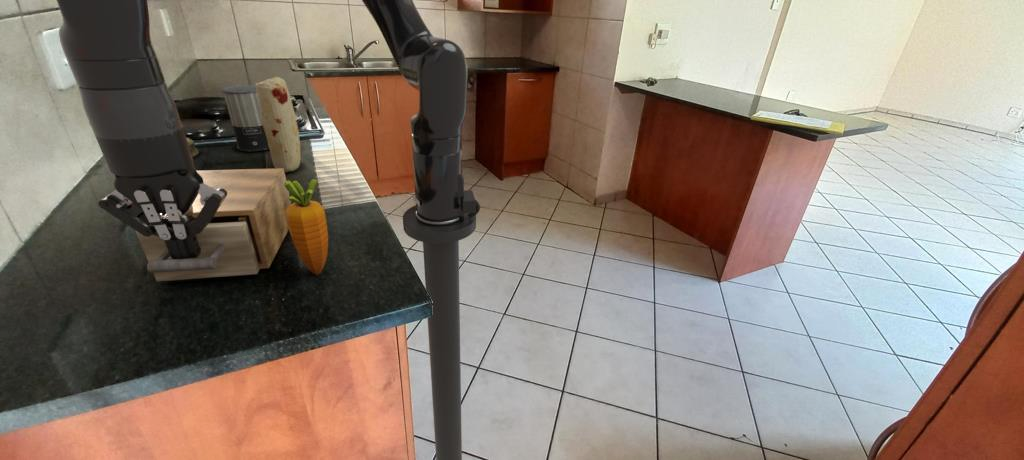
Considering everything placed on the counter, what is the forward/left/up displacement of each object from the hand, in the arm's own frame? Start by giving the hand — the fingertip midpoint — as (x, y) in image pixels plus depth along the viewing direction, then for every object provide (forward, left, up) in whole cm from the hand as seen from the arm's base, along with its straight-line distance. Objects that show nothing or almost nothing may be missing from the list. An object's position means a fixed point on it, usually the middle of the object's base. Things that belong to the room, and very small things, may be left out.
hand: (188, 260), depth 54 cm
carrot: (-14, -3, -5) cm, 16 cm away
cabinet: (0, -14, -5) cm, 14 cm away
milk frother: (+11, -70, -5) cm, 70 cm away
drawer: (0, -8, -4) cm, 9 cm away
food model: (0, -49, -5) cm, 49 cm away
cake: (+28, -60, -5) cm, 66 cm away
